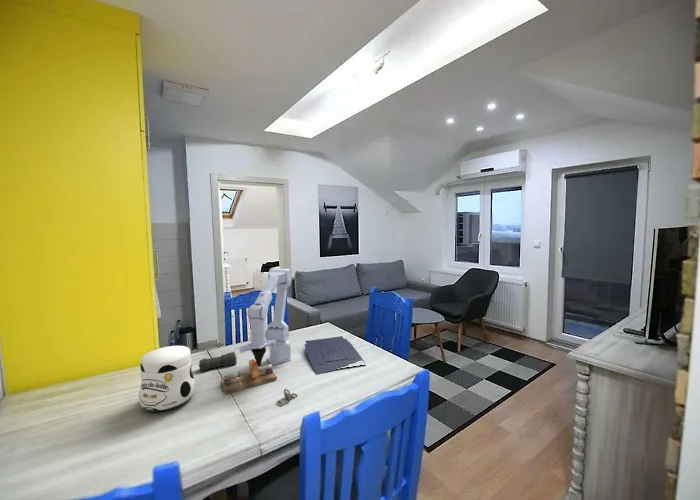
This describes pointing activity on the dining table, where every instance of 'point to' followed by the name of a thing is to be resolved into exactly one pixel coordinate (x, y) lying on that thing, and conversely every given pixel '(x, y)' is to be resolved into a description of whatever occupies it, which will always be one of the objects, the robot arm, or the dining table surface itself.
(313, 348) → the grey flat slab
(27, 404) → the dining table surface
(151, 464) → the dining table surface
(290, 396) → the strap clip
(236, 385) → the pipe stand
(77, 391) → the dining table surface
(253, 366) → the collar
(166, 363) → the milk container
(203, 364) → the flashlight
